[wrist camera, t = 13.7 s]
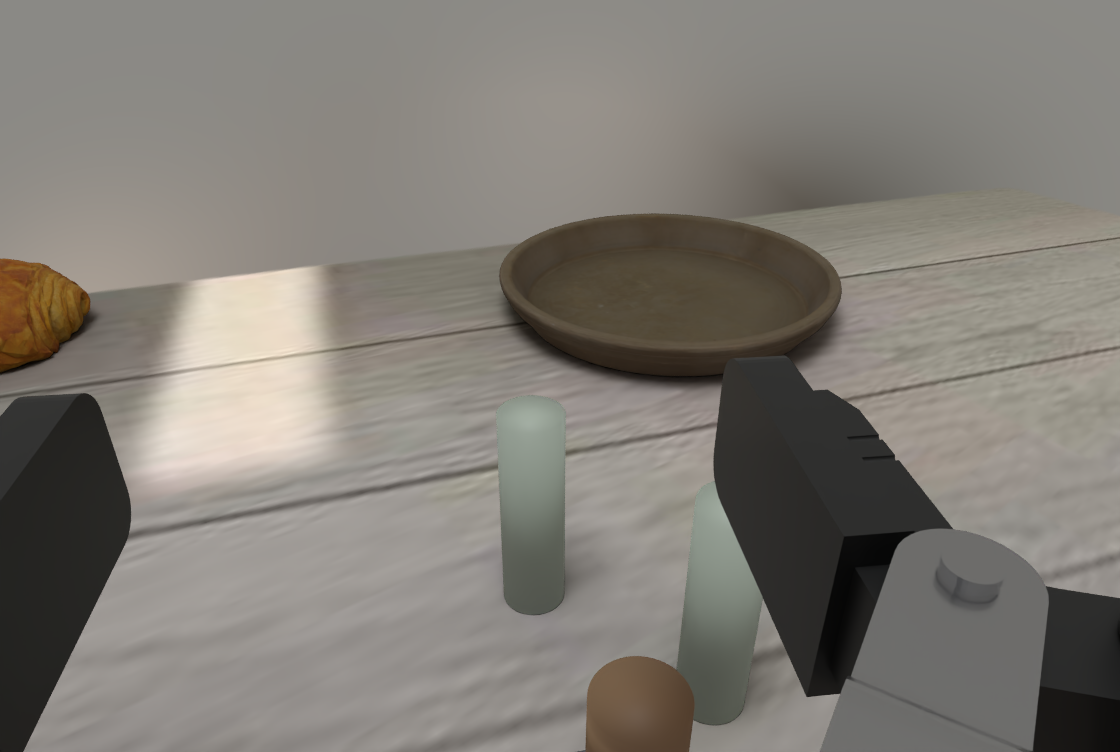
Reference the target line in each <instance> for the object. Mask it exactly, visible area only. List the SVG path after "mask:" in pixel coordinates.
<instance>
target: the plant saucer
mask: <svg viewBox="0 0 1120 752" xmlns="http://www.w3.org/2000/svg"><path fill="white" fill-rule="evenodd" d="M499 277H500V284H501V287H502V290H503V292H504V295H505V296H506V298H507V300H508V301H509V302H510V304H511V306H512V307H513V309H514V310H515V311H516V312H517V313H518V315H519V316H520V317H521V318H522V319H523V320H524V321H526V322H527V323H528V324H530V325H531V326H532V327H533V329H534V330H535V331H536V332H537V333H538V334H539V335H540V336H541V337H542V338H543V339H544V340H546V341H547V342H548V343H550V344H551V345H553V346H555V347H556V348H558V349H560V350H561V351H563V352H565V353H568V354H570V355H572V356H574V357H577V358H579V359H582V360H585V361H587V362H590V363H593V364H597V365H600V366H604V367H608V368H613V369H617V370H621V371H627V372H633V373H639V374H650V375H661V376H706V375H717V374H724V369H725V366H726V364H727V362H728V361H729V360H730V359H733V358H750V357H768V356H782V355H784V354H786V353H787V352H789V351H790V350H792V349H793V348H794V347H796V346H797V345H798V344H799V343H800V342H801V341H803V340H805V339H807V338H808V337H810V336H811V335H813V334H814V333H815V332H817V331H818V330H819V329H820V328H821V327H822V326H823V325H824V324H825V323H826V321H827V320H828V319H829V318H830V317H831V316H832V314H833V313H834V312H835V310H836V308H837V306H838V304H839V302H840V299H841V294H842V288H841V281H840V279H839V276H838V274H837V272H836V270H835V269H834V267H833V266H832V265H831V264H830V262H829V261H827V260H826V259H825V258H824V257H823V256H821V255H820V254H819V253H817V252H816V251H814V250H813V249H811V248H809V247H808V246H806V245H804V244H802V243H800V242H798V241H796V240H794V239H792V238H790V237H787V236H785V235H782V234H779V233H776V232H774V231H771V230H767V229H764V228H760V227H757V226H753V225H749V224H744V223H740V222H734V221H729V220H723V219H717V218H710V217H702V216H692V215H678V214H632V215H631V214H630V215H617V216H606V217H599V218H593V219H587V220H582V221H578V222H573V223H569V224H565V225H562V226H558V227H555V228H552V229H549V230H546V231H544V232H542V233H539V234H537V235H535V236H533V237H531V238H529V239H527V240H525V241H524V242H522V243H521V244H519V245H518V246H516V247H515V248H514V249H513V250H512V251H511V252H510V253H509V254H508V255H507V256H506V258H505V259H504V261H503V263H502V265H501V268H500V275H499Z"/></svg>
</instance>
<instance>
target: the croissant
mask: <svg viewBox="0 0 1120 752" xmlns="http://www.w3.org/2000/svg"><path fill="white" fill-rule="evenodd" d="M89 310H90V298H89V296H88V294H87V293H86V292H85V291H84V290H83V289H82V288H80V287H79V286H78V285H77V284H76V283H75V282H73V281H71V280H69V279H68V278H67V277H65V276H62V274H60V273H58V272H56V271H54V270H52V269H51V268H49V266H47V265H44V264H41V263H27V262H24V261H19V260H11V259H0V373H1V372H3V371H6V370H9V369H11V368H15V367H18V366H21V365H23V364H25V363H28V362H31V361H40V360H43V359H46V358H49V357H50V356H51V355H52V354H53V352H56V353H57V352H58V349H59V343H61V342H64V341H67V340H69V338H70V336H71V334H72V333H74V332H76V331H78V328H79V327H80V326H81V325H82V323H83V316H85V315H86V314H87V313H88V312H89Z"/></svg>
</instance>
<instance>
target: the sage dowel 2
mask: <svg viewBox="0 0 1120 752" xmlns="http://www.w3.org/2000/svg"><path fill="white" fill-rule="evenodd" d="M762 600H763V597H762V595H761V593H760V590H759V588H758V586H757V584H756V581H755V579H754V577H753V575H752V572H751V570H750V568H749V565H748V563H747V561H746V559H745V556H744V554H743V552H742V550H741V547H740V545H739V543H738V541H737V538H736V536H735V534H734V532H733V529H732V527H731V525H730V523H729V520H728V518H727V516H726V514H725V511H724V509H723V507H722V505H721V502H720V500H719V497H718V494H717V490H716V485H715V481H713V482H710V483H708V484H706V485H704V486H703V487H702V488H701V489H700V490H699V491H698V493H697V495H696V500H695V509H694V518H693V527H692V536H691V545H690V554H689V563H688V572H687V581H686V590H685V599H684V608H683V617H682V626H681V635H680V645H679V654H678V663H677V671H678V672H679V673H680V674H681V675H682V676H683V677H684V678H685V680H686V681H687V682H688V684H689V686H690V688H691V690H692V693H693V696H694V702H695V709H694V716H693V719H694V720H696V721H698V722H700V723H703V724H708V725H721V724H726V723H728V722H731V721H732V720H734V719H735V718H737V717H738V716H739V715H740V713H741V712H742V709H743V707H744V702H745V696H746V691H747V685H748V679H749V674H750V668H751V662H752V657H753V651H754V645H755V640H756V634H757V628H758V623H759V617H760V611H761V606H762Z"/></svg>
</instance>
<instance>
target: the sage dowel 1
mask: <svg viewBox="0 0 1120 752" xmlns="http://www.w3.org/2000/svg"><path fill="white" fill-rule="evenodd" d="M496 421H497V444H498V468H499V491H500V514H501V538H502V561H503V584H504V597H505V600H506V602H507V604H508V605H509V606H510V607H511V608H512V609H514V610H516V611H518V612H520V613H523V614H528V615H539V614H544V613H547V612H549V611H552V610H553V609H555V608H556V607H557V606H558V605H559V604H560V603H561V601H562V600H563V597H564V558H565V431H566V412H565V409H564V407H563V406H562V405H561V404H560V403H559V402H557V401H555V400H553V399H551V398H548V397H543V396H535V395H528V396H520V397H516V398H513V399H510V400H508V401H506V402H504V403H503V404H502V405H501V406H500V407H499V408H498V410H497V412H496Z"/></svg>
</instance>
